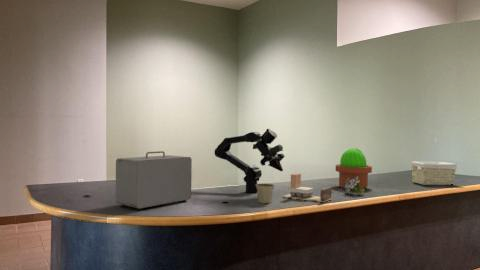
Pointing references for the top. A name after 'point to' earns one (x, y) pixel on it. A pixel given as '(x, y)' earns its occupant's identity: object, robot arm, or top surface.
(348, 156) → the potted cactus
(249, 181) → the robot arm
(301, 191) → the brown piece
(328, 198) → the tan cardboard slab
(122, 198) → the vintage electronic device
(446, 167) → the storage basket
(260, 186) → the flower pot
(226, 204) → the top surface
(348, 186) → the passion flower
